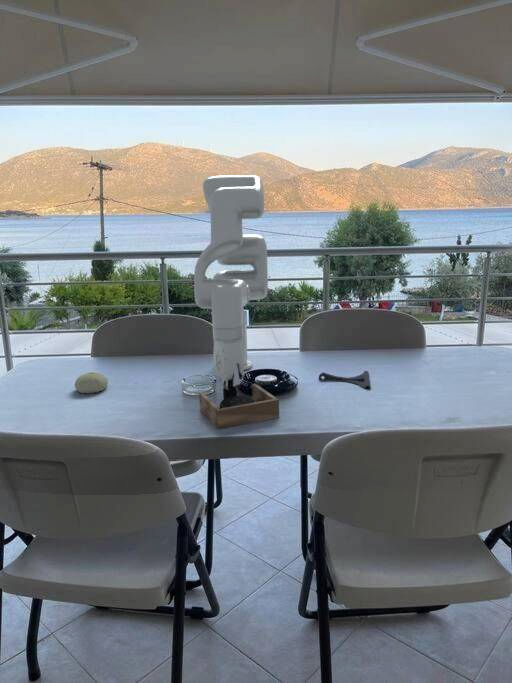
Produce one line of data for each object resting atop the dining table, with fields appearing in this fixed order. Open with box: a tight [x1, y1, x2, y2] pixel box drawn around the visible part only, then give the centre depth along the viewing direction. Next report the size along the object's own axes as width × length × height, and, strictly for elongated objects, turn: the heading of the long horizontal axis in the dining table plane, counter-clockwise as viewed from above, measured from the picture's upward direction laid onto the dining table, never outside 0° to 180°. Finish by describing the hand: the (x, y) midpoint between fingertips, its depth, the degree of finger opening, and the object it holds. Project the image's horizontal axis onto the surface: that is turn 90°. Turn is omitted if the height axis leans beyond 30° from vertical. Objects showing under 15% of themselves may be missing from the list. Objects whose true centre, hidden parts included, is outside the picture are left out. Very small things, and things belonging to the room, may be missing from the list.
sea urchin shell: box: [74, 371, 109, 394], centre depth 140 cm, size 9×8×8 cm
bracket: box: [318, 370, 372, 390], centre depth 143 cm, size 14×15×3 cm
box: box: [198, 383, 280, 430], centre depth 119 cm, size 14×16×4 cm
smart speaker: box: [219, 395, 255, 409], centre depth 118 cm, size 9×9×4 cm
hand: (230, 402), depth 124 cm, fingers closed
